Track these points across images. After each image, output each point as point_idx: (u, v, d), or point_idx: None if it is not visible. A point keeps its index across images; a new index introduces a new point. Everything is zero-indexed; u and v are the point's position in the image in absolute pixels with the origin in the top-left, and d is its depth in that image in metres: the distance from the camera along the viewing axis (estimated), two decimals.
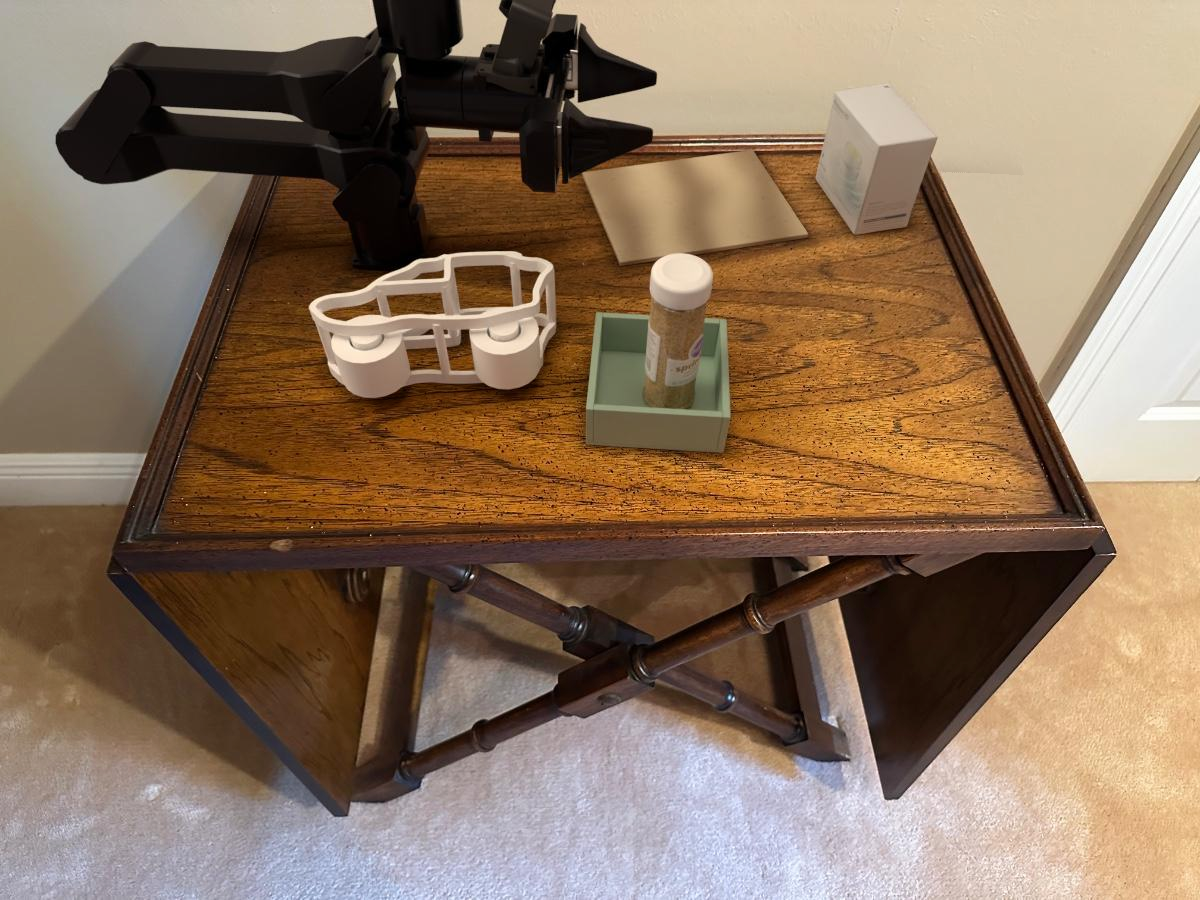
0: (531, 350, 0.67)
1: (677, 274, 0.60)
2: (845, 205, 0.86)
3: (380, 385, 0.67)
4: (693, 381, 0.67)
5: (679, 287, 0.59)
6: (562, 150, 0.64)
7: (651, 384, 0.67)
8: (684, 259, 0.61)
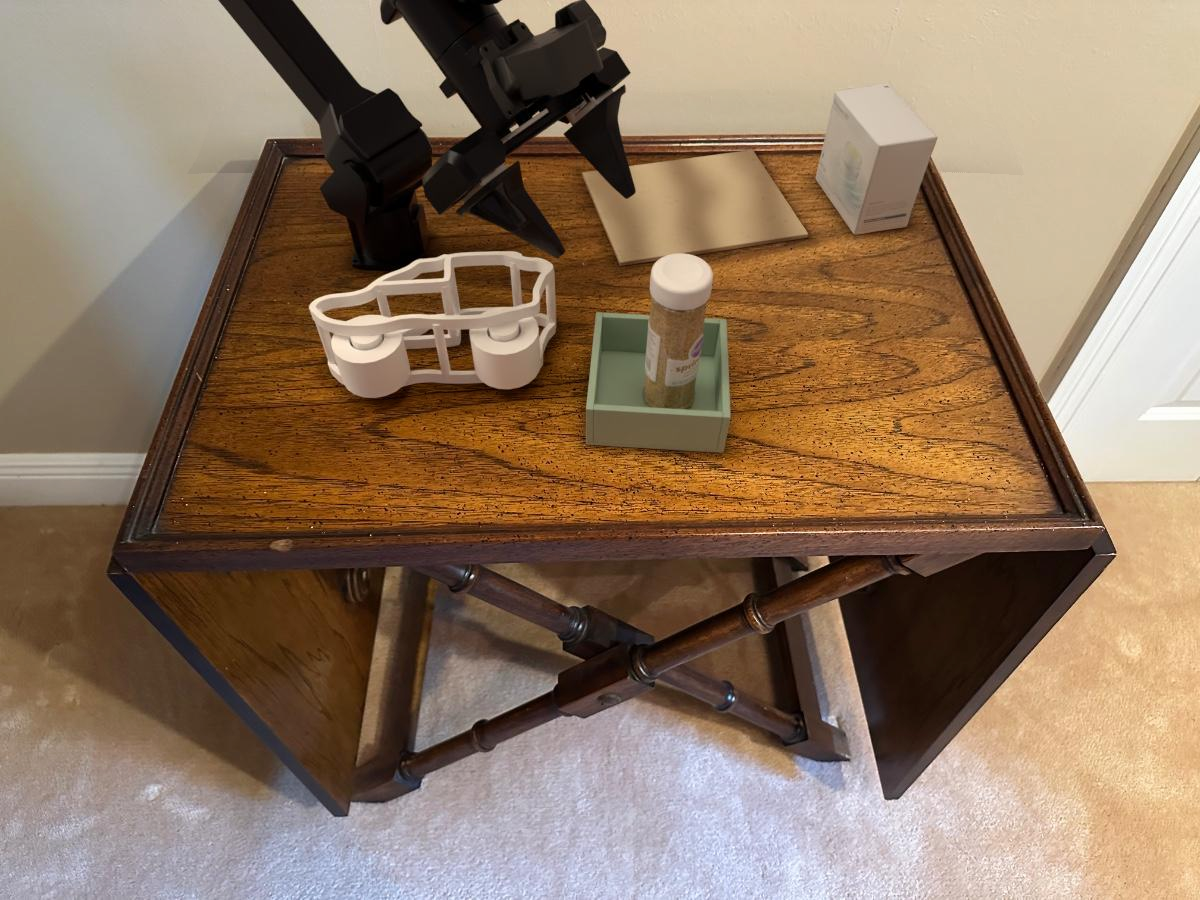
0: (532, 350, 0.67)
1: (677, 274, 0.60)
2: (845, 205, 0.86)
3: (380, 385, 0.67)
4: (693, 381, 0.67)
5: (679, 287, 0.59)
6: (473, 196, 0.57)
7: (651, 384, 0.67)
8: (684, 259, 0.61)
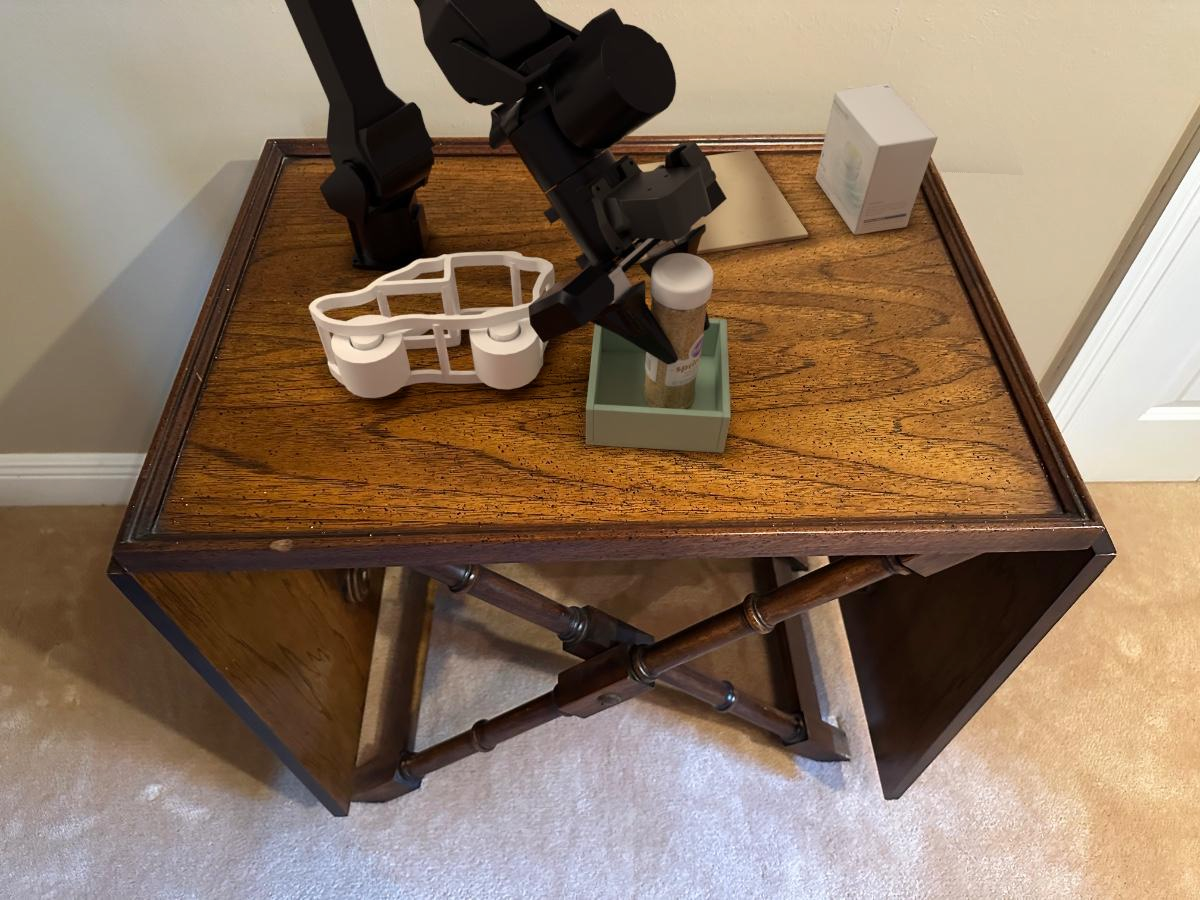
0: (531, 350, 0.67)
1: (677, 274, 0.60)
2: (845, 205, 0.86)
3: (380, 385, 0.67)
4: (693, 381, 0.67)
5: (679, 286, 0.59)
6: None
7: (651, 383, 0.67)
8: (684, 259, 0.61)
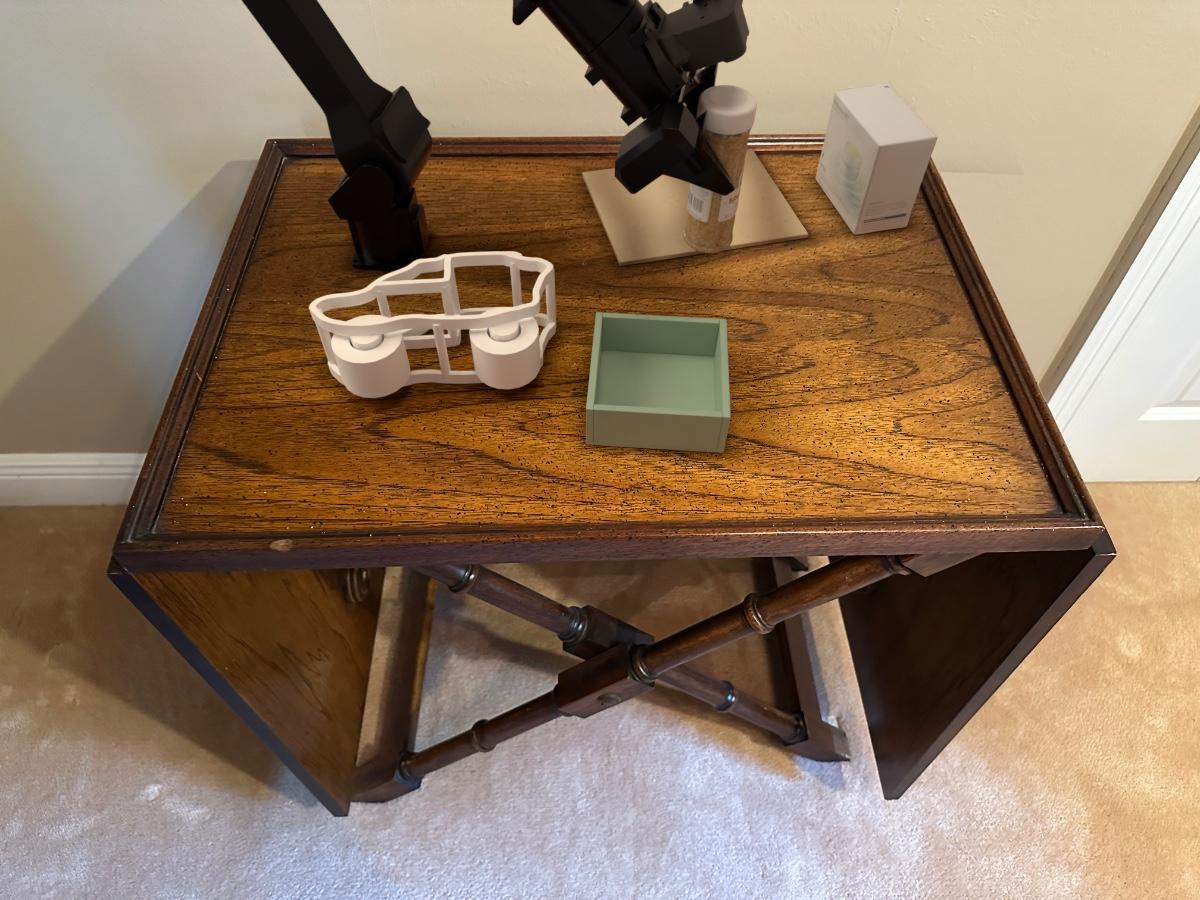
0: (531, 350, 0.67)
1: (726, 101, 0.64)
2: (845, 205, 0.86)
3: (380, 385, 0.67)
4: (735, 213, 0.72)
5: (736, 110, 0.63)
6: None
7: (702, 226, 0.71)
8: (722, 89, 0.65)
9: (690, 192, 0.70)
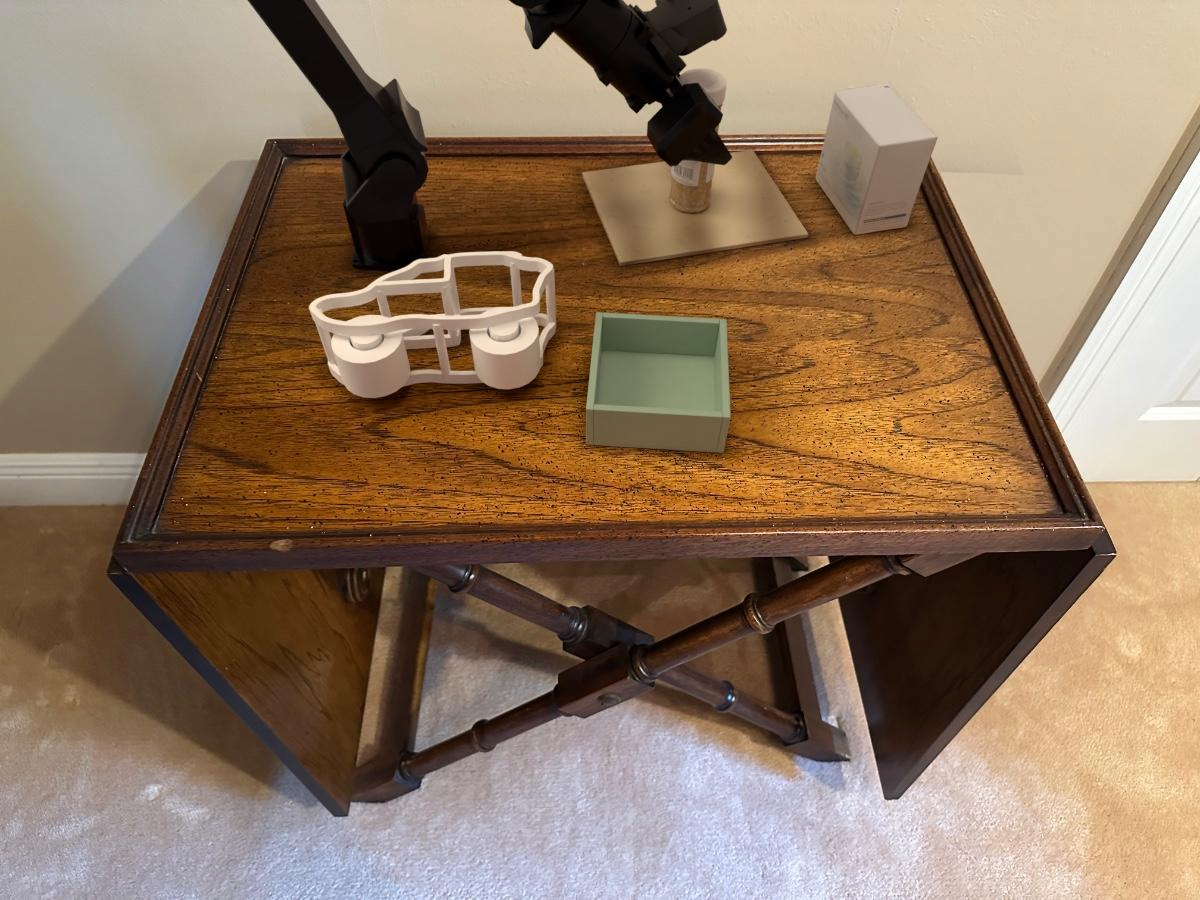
0: (531, 350, 0.67)
1: (704, 81, 0.77)
2: (845, 205, 0.86)
3: (380, 385, 0.67)
4: None
5: (716, 86, 0.77)
6: None
7: (693, 190, 0.84)
8: (692, 73, 0.78)
9: (678, 165, 0.83)
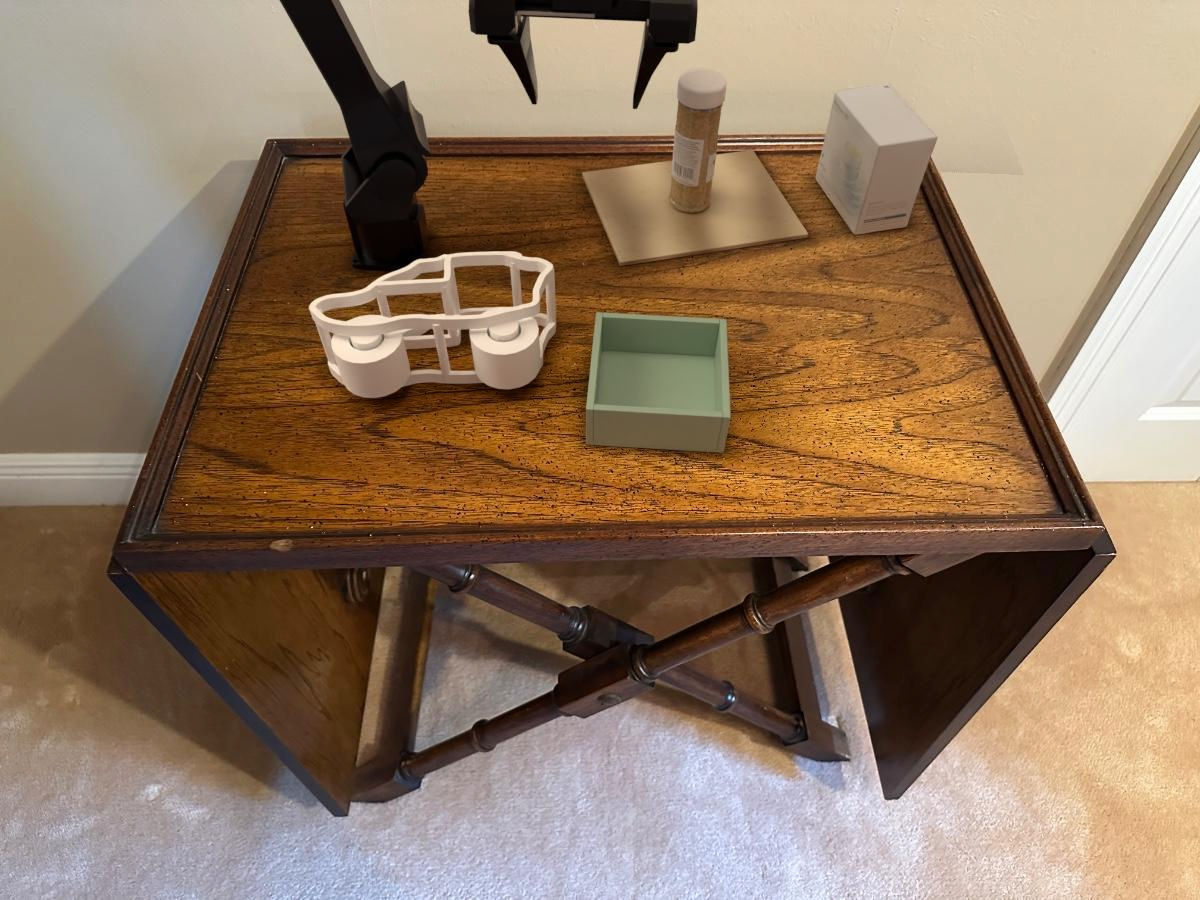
0: (531, 350, 0.67)
1: (704, 81, 0.77)
2: (845, 205, 0.86)
3: (380, 385, 0.67)
4: None
5: (717, 86, 0.77)
6: None
7: (693, 190, 0.84)
8: (693, 73, 0.78)
9: (678, 165, 0.83)
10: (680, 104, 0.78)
